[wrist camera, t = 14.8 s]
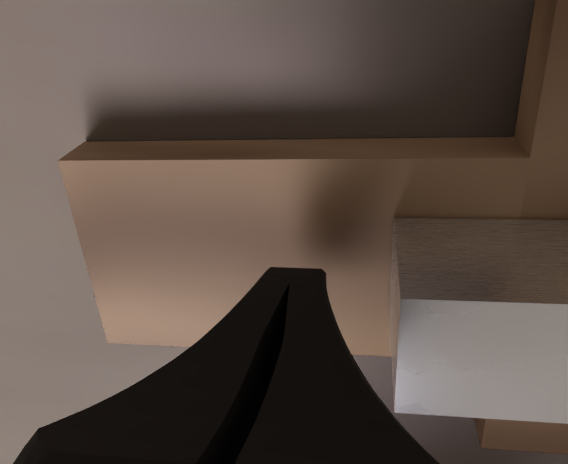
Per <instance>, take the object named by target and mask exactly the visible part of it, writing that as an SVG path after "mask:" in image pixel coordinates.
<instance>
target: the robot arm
mask: <svg viewBox="0 0 568 464" xmlns="http://www.w3.org/2000/svg"><path fill="white" fill-rule="evenodd" d="M13 464H439V463H438V462H437V461H436V460H435V459H434V458H433V457H432V456H431V455H430V454H429V453H428V452H427V451H425V450H424V449H423V448H422V446H421V445H420V444H419V443H418V442H417V441H416V440H415V439H414V438H413V437H412V436H411V435H410V434H409V433H408V432H407V431H406V430H405V429H404V427H403V426H402V425H401V424H400V423H399V422H398V421H397V420H396V418H395V417H394V416H393V415H392V413H391V412H390V411H389V409H388V408H387V407H386V406H385V404H384V403H383V402H382V400H381V399H380V398H379V397H378V395H377V394H376V393H375V391H374V390H373V389H372V387H371V386H370V384H369V383H368V381H367V380H366V378H365V376H364V375H363V373H362V372H361V370H360V368H359V367H358V365H357V363H356V362H355V360H354V358H353V356H352V354H351V352H350V350H349V349H348V347H347V344H346V342H345V340H344V338H343V336H342V334H341V331H340V329H339V327H338V324H337V322H336V319H335V316H334V313H333V311H332V308H331V304H330V301H329V297H328V293H327V285H326V272H325V271H324V270H323V269H316V268H287V267H270V268H269V269H268V270H266V271H265V273H264V274H263V275H262V276H261V277H260V279H259V280H258V281H257V282H256V283H255V284H254V286H253V287H252V288H251V289H250V290H249V291H248V292H247V293H246V295H245V296H244V297H243V298H242V299H241V300H240V301H239V302H238V303H237V304H236V305H235V306H234V307H233V308H232V309H231V310H230V311H229V313H228V314H227V315H226V316H225V317H224V318H223V319H221V320H220V321H219V322H218V323H217V324H216V325H215V326H214V327H213V328H212V329H211V330H210V331H208V332H207V333H206V334H205V335H204V336H203V337H202V338H201V339H199V340H198V341H197V342H196V343H195V344H194V345H192V346H191V347H190V348H188V349H187V350H186V351H184V352H183V353H182V354H180V355H179V356H178V357H176V358H175V359H174V360H172V361H171V362H169V363H168V364H166V365H165V366H163V367H161V368H160V369H158V370H157V371H155V372H153V373H152V374H150V375H149V376H147V377H146V378H144V379H142V380H141V381H139V382H137V383H136V384H134V385H132V386H130V387H129V388H127V389H125V390H123V391H121V392H119V393H118V394H116V395H114V396H112V397H110V398H108V399H106V400H104V401H102V402H100V403H98V404H95V405H93V406H91V407H89V408H87V409H85V410H82V411H80V412H78V413H75V414H73V415H70V416H68V417H66V418H63V419H61V420H59V421H56V422H54V423H51V424H49V425H46V426H44V427H41V428H39V429H38V430H37V431H36V432H35V434H34V435H33V436H32V438H31V439H30V440H29V442H28V443H27V444H26V445H25V447H24V448H23V449H22V451H21V452H20V454H19V455H18V457H17V459H16V460H15V462H14V463H13Z"/></svg>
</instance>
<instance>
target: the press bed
mask: <svg viewBox="0 0 568 464" xmlns="http://www.w3.org/2000/svg"><path fill="white" fill-rule="evenodd" d="M58 163H59V167H60V170H61V174H62V178H63V181H64V185H65V189H66V192H67V196H68V199H69V203H70V207H71V210H72V214H73V218H74V221H75V225H76V229H77V232H78V236H79V240H80V243H81V247H82V251H83V254H84V258H85V262H86V265H87V269H88V273H89V276H90V280H91V284H92V287H93V291H94V295H95V298H96V302H97V306H98V309H99V313H100V317H101V320H102V324H103V327H104V331H105V335H106V338H107V342H108V343H120V344H141V345H162V346H182V347H191V346H192V345H194V344H195V343H196V342H197V341H198V340H199V339H201V338H202V337H203V336H204V335H205V334H206V333H207V332H208V331H210V330H211V329H212V328H213V327H214V326H215V325H216V324H217V323H218V322H219V321H220V320H221V319H223V318H224V317H225V316H226V315H227V314H228V313H229V311H230V310H231V309H232V308H233V307H234V306H235V305H236V304H237V303H238V302H239V301H240V300H241V299H242V298H243V297H244V296H245V295H246V293H247V292H248V291H249V290H250V289H251V288H252V287H253V286H254V284H255V283H256V282H257V281H258V280H259V279H260V277H261V276H262V275H263V274H264V273H265V271H266V270H268V269H269V268H270V267H287V268H316V269H323V270H324V271H325V272H326V285H327V293H328V297H329V301H330V304H331V308H332V311H333V313H334V316H335V319H336V322H337V324H338V327H339V329H340V331H341V334H342V336H343V338H344V340H345V342H346V344H347V347H348V349H349V350H350V352H351V354H352V355H368V356H389V357H391V346H390V329H389V301H390V278H391V256H392V233H393V218H441V219H536V220H568V0H535V4H534V10H533V17H532V24H531V30H530V37H529V43H528V50H527V56H526V63H525V70H524V76H523V83H522V89H521V96H520V102H519V109H518V116H517V122H516V129H515V135H514V137H454V138H365V139H276V140H187V141H98V142H84V143H82V144H81V145H79V146H78V147H77V148H75V149H74V150H72V151H71V152H69V153H68V154H67V155H65V156H64V157H62V158H61V159H60V160H58ZM474 420H475V424H476V429H477V433H478V438H479V442H480V447H481V448H486V449H500V450H514V451H528V452H542V453H556V454H568V424H564V423H548V422H532V421H517V420H501V419H485V418H474Z"/></svg>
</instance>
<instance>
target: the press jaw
mask: <svg viewBox="0 0 568 464" xmlns="http://www.w3.org/2000/svg"><path fill="white" fill-rule="evenodd" d="M389 329H390V346H391V364H392V382H393V400H394V413H407V414H422V415H438V416H454V417H470V418H485V419H501V420H517V421H532V422H548V423H564V424H568V220H536V219H441V218H393V233H392V256H391V278H390V301H389Z"/></svg>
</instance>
